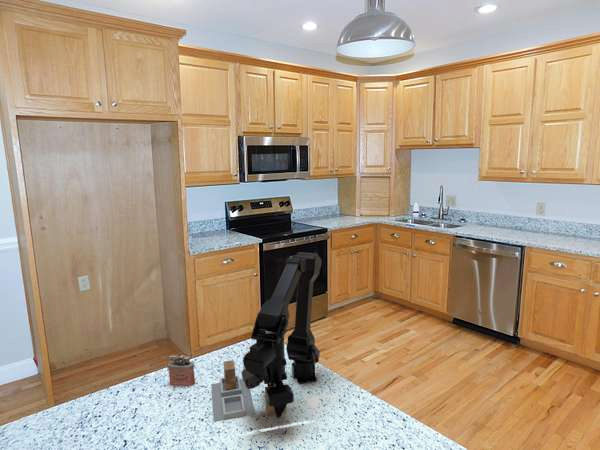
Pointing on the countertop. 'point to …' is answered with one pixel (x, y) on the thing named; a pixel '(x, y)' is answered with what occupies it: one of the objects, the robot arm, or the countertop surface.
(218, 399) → the grey socket board
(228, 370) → the billet
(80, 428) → the countertop surface
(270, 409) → the billet
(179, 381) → the lighter
